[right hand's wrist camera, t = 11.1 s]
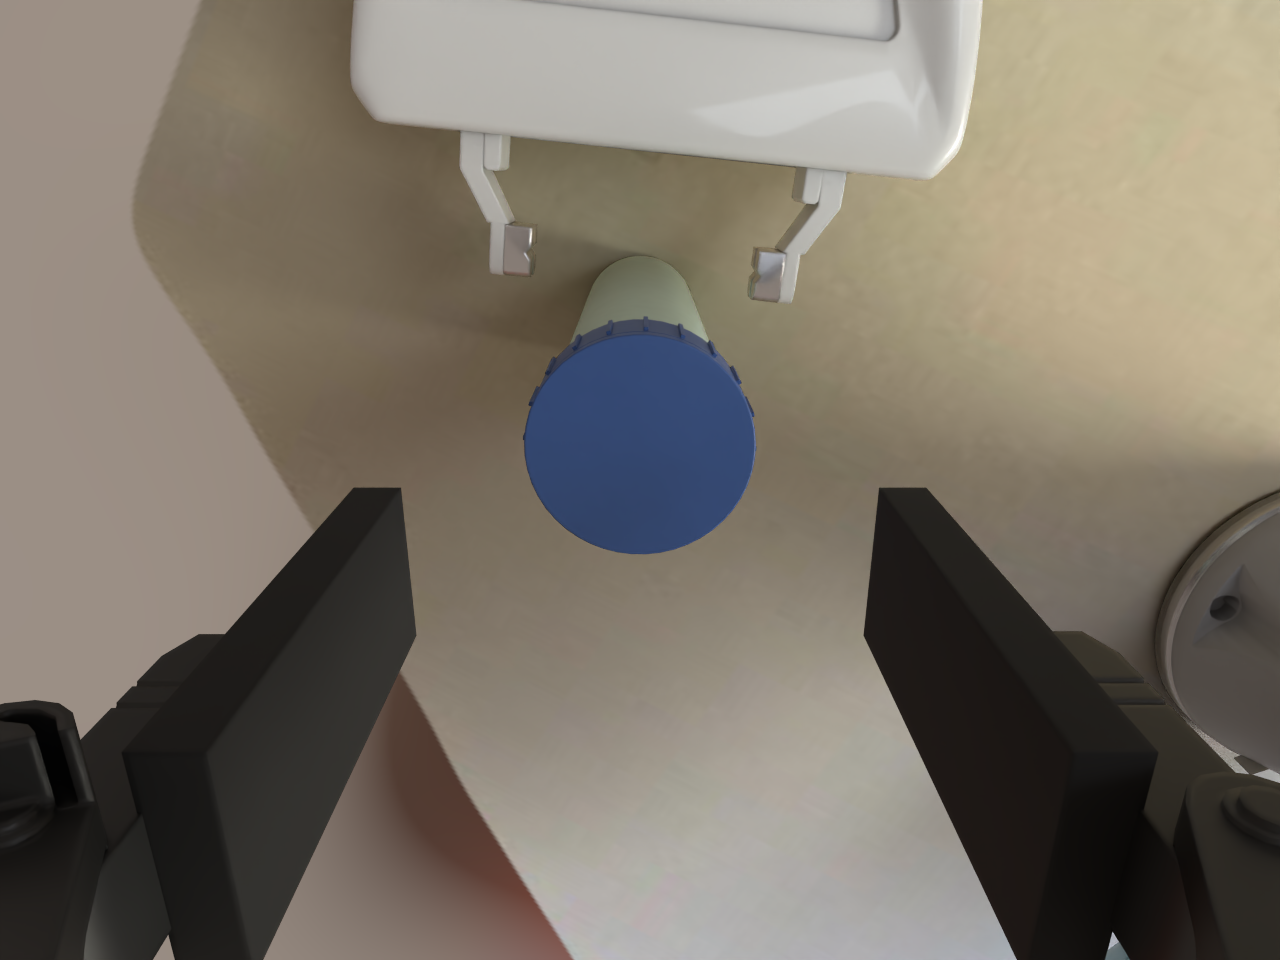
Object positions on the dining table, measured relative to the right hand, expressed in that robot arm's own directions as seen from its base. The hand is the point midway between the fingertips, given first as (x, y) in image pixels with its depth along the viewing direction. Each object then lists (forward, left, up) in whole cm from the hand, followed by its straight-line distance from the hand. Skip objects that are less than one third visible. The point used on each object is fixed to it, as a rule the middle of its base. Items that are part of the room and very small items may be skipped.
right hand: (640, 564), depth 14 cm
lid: (0, 0, -6) cm, 6 cm away
